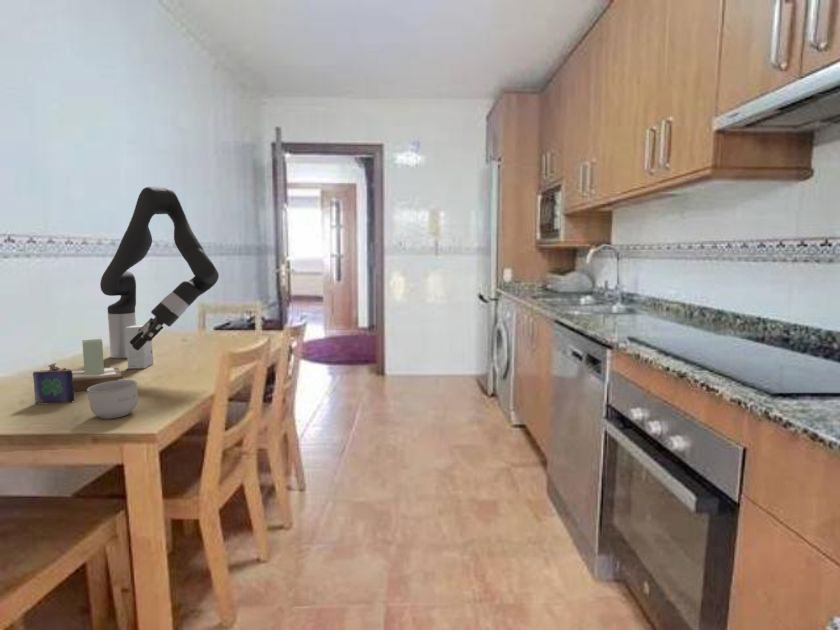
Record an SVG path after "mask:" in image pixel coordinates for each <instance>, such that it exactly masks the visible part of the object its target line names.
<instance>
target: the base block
mask: <svg viewBox="0 0 840 630" xmlns="http://www.w3.org/2000/svg"><path fill="white" fill-rule="evenodd" d="M71 371H72V370H71ZM119 379H124V377H123V374H122V373H121V371H120V369H119V367H113V366H111V367H104V373H101V374H92V375H85V372H84V369H83V370H73V371H72V381H73V391H75V392H81V391H82V390H83V391H87V389H88V388H89V387H91V386H93V385H96V384H100V383H104V382H109V381H116V380H119Z"/></svg>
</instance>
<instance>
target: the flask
mask: <svg viewBox="0 0 840 630" xmlns="http://www.w3.org/2000/svg"><path fill="white" fill-rule="evenodd" d="M56 365H57V363H55V362H54V363H51V364H50V365H49V364H48V365H47V367H48V368H49V369H47V370H46V369H42V370H41V369H40V370H35V371H33V372H32V376H33V386H34V390H33V391H34V402H35V403H34V404H37V403H43V404H44V403H54V404H65V403H66V404H69V403H68V402H70V403H73V402H72V401H74V402H75V392H73V381H72V370H71V368H68V369H67V368H66V367H63V368H62V367H58V366H56Z"/></svg>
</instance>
